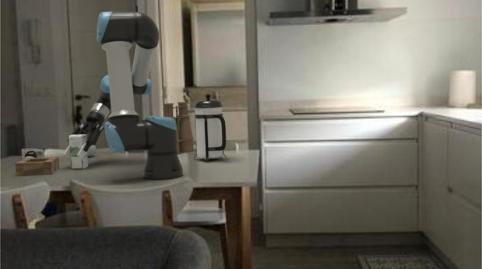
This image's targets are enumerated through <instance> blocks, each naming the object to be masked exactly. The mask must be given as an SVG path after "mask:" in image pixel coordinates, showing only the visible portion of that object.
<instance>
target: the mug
mask: <svg viewBox="0 0 482 269" xmlns="http://www.w3.org/2000/svg"><path fill="white" fill-rule="evenodd" d="M38 153H41V157H40V158H45V152H44V150H43V149H38V148H35V147H29V148H22V149H21V157H22V158H21V160H23V159H25V158H38Z"/></svg>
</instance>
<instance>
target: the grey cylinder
mask: <svg viewBox="0 0 482 269" xmlns="http://www.w3.org/2000/svg"><path fill="white" fill-rule="evenodd" d="M86 144H87V143H86ZM96 153H97V147H96V145H92V146H90V148H89V149H88V151H87V158H89V157H90V158H91V157H93V156H95V154H96Z"/></svg>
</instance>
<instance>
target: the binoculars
mask: <svg viewBox="0 0 482 269" xmlns="http://www.w3.org/2000/svg"><path fill="white" fill-rule="evenodd" d="M188 103H189V102H188V101H177V105H175V106H174V104H175V103H174V102H168V103H167V102H165V103H162V105H163V107H162V109H163V117H169V118H173V119H174V120H175V121H176V128H177V154H178V155H180V154H181V153H190V152H193V151H194V139H195V138H194V137H193V131H192V126H191V119H190V116H191V115H190V114H188V108H189V106H188ZM174 109H175V116H174Z"/></svg>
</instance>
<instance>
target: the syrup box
mask: <svg viewBox="0 0 482 269" xmlns="http://www.w3.org/2000/svg"><path fill="white" fill-rule="evenodd" d="M68 139H69V142H68V145H69V148H70V156H69V159H70V160H69V161H70V169H71V170H80V169H81V170H83V169H87V168H88V167H89V163H88V160H89V159H88V157H87V152H86V153H85V155H84V157H83V158H82V159H80V158H79V157H78V156H77V154H78V153H79V151H80V149H81V148H82V146H83V144H84V143H86V142H85V141H87V134H79V135H72V134H70V135H68Z"/></svg>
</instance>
